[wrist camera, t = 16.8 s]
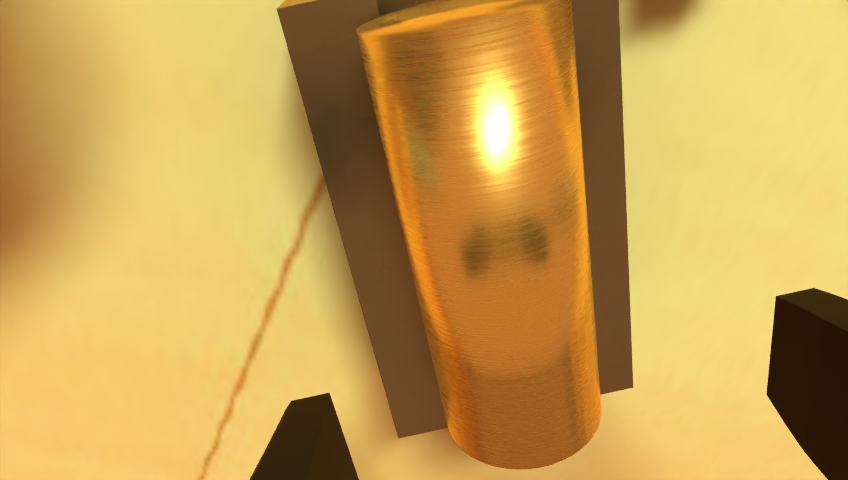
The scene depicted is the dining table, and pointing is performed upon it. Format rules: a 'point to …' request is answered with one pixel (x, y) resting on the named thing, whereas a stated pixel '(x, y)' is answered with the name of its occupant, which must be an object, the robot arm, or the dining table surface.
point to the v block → (377, 211)
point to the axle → (493, 216)
